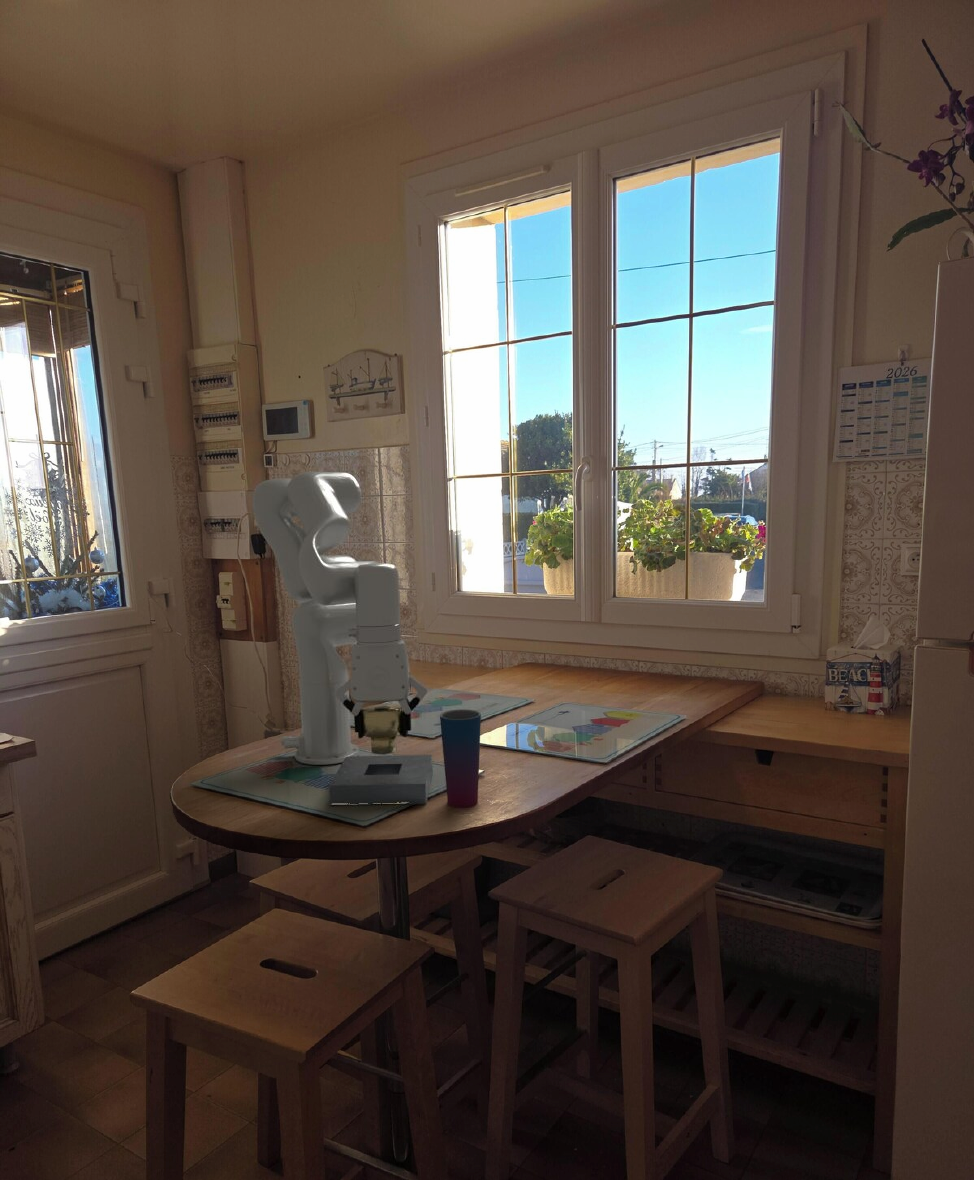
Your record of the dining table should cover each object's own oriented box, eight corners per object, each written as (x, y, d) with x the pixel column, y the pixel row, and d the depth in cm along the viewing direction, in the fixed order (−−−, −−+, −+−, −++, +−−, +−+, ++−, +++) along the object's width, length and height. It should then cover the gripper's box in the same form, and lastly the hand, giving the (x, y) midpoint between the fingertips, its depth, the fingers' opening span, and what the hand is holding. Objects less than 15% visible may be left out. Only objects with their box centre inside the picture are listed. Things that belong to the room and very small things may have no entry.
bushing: (361, 757, 138) (358, 713, 138) (367, 746, 145) (365, 704, 144) (402, 755, 138) (400, 711, 137) (406, 744, 145) (404, 702, 144)
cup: (491, 801, 135) (489, 713, 134) (463, 812, 130) (461, 721, 129) (462, 792, 140) (459, 707, 139) (433, 803, 135) (431, 715, 134)
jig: (330, 805, 135) (329, 785, 134) (346, 774, 151) (346, 756, 150) (426, 803, 135) (425, 783, 134) (432, 773, 151) (432, 754, 150)
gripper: (324, 639, 136) (329, 743, 138) (427, 636, 136) (431, 739, 138) (333, 633, 144) (337, 731, 145) (430, 630, 144) (434, 728, 145)
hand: (383, 734), depth 141 cm, fingers closed on bushing, 7 cm apart
